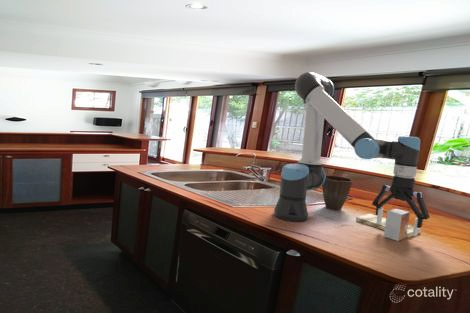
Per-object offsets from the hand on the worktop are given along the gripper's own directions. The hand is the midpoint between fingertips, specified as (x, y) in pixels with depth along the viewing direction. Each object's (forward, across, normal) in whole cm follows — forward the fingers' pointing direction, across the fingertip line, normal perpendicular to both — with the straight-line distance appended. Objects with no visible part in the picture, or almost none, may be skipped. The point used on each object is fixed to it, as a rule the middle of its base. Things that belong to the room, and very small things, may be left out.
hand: (396, 229), depth 113 cm
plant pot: (+4, -36, +12) cm, 38 cm away
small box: (+3, 0, 0) cm, 3 cm away
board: (+3, -8, +10) cm, 13 cm away
